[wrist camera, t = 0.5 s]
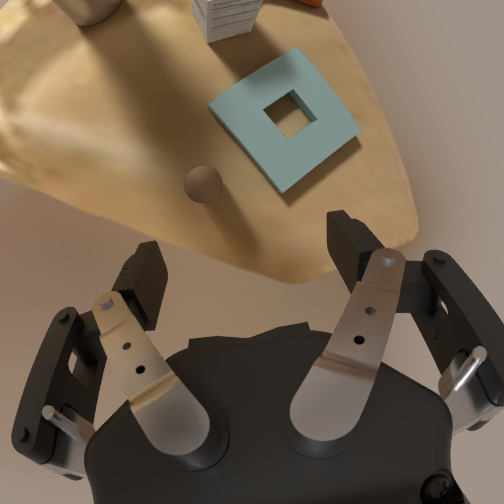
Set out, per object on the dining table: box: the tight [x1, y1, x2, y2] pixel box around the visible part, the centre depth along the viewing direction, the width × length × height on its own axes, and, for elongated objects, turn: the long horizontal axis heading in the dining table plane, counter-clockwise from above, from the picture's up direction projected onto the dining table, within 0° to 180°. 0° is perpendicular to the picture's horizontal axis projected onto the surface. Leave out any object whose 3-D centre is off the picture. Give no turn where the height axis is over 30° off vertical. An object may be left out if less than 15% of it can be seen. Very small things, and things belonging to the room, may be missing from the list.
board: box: [208, 47, 362, 193], centre depth 34 cm, size 16×16×2 cm
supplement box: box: [192, 0, 263, 43], centre depth 23 cm, size 7×7×13 cm
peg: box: [184, 166, 222, 203], centre depth 32 cm, size 4×4×10 cm
